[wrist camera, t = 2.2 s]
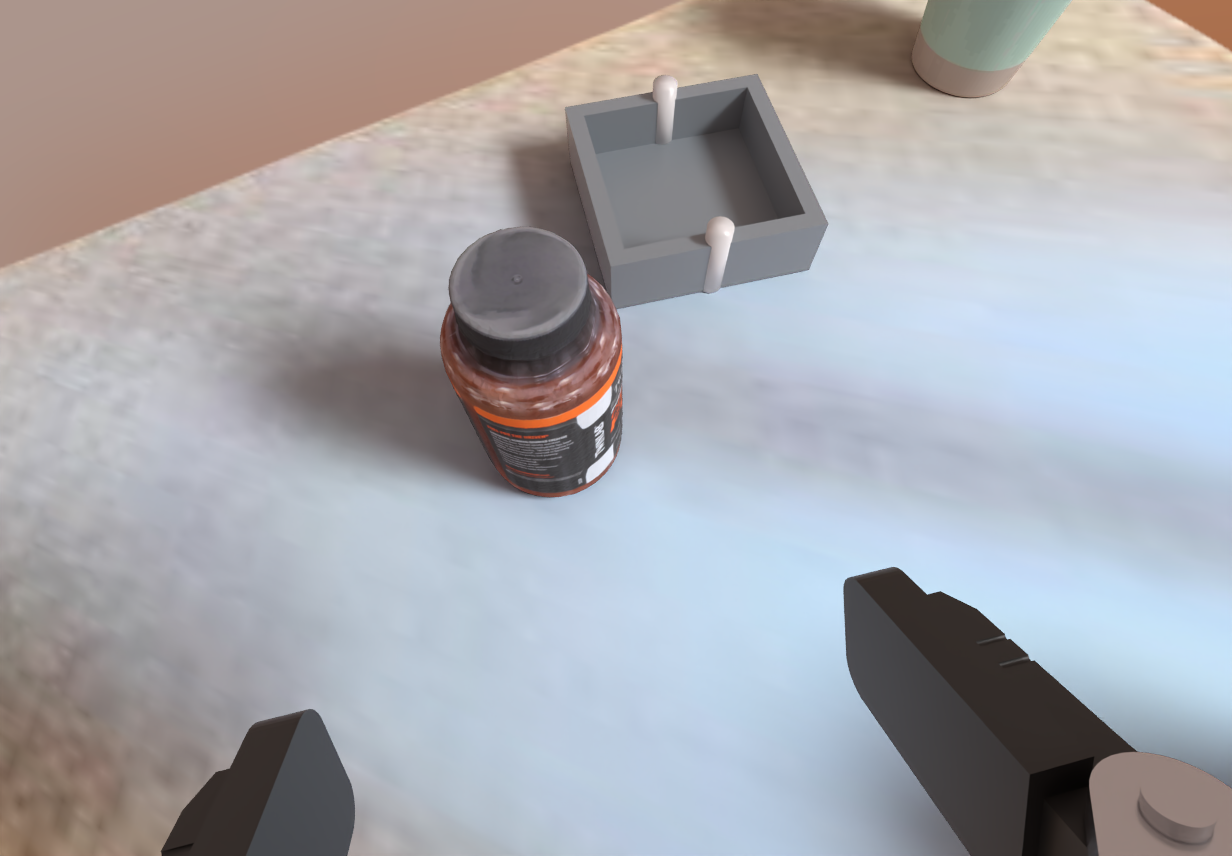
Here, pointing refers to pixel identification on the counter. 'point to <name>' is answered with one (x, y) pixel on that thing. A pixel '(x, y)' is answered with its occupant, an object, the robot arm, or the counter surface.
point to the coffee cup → (979, 42)
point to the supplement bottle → (535, 360)
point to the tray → (691, 189)
